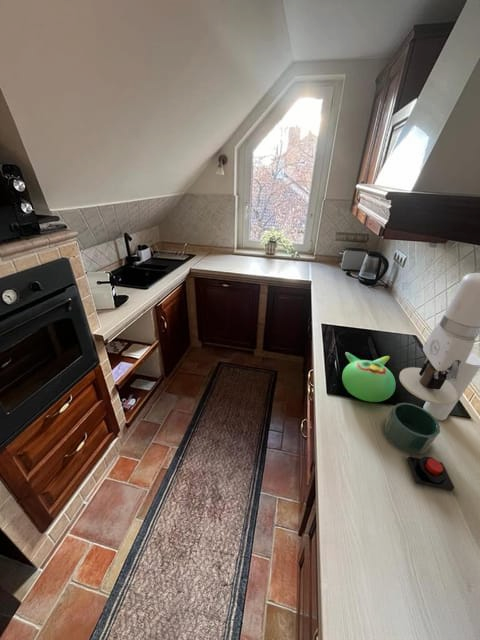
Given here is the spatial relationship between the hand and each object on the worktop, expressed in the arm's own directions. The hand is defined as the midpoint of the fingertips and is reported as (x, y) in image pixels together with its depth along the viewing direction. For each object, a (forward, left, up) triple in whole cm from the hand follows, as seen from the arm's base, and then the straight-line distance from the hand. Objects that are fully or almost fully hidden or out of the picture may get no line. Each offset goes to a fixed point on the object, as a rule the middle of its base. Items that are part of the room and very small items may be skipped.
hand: (429, 381), depth 70 cm
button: (-5, +11, -22) cm, 25 cm away
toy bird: (+7, -18, -25) cm, 32 cm away
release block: (-5, +11, -25) cm, 28 cm away
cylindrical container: (-17, -14, -25) cm, 33 cm away
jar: (-3, -1, -25) cm, 25 cm away
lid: (0, 0, -2) cm, 2 cm away
